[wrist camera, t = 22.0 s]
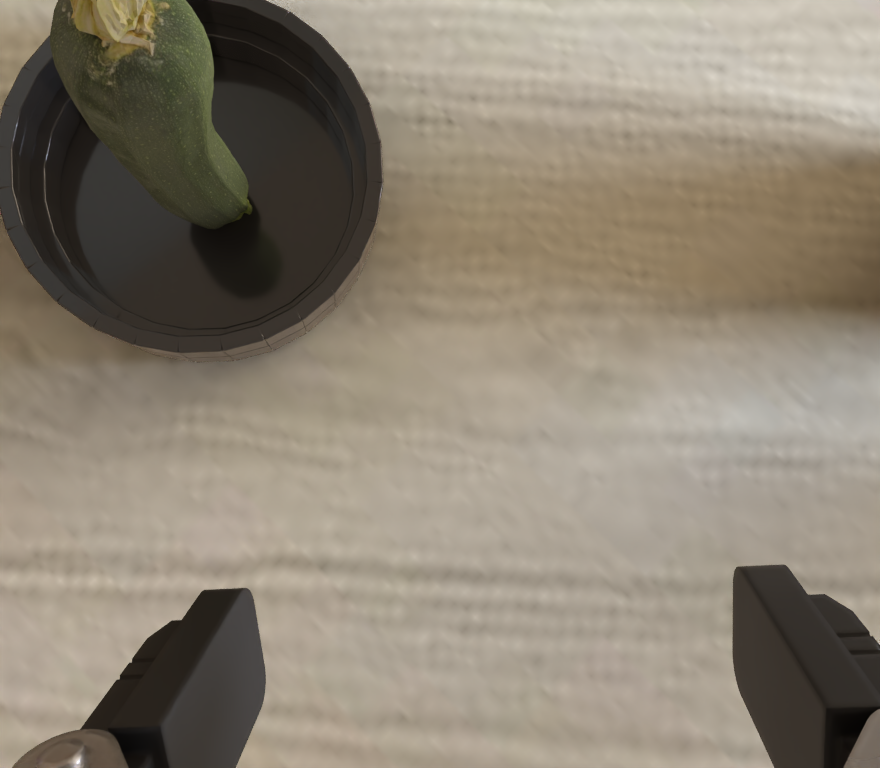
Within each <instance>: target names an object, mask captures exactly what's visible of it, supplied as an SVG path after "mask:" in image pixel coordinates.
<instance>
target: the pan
mask: <svg viewBox="0 0 880 768" xmlns="http://www.w3.org/2000/svg"><path fill="white" fill-rule="evenodd" d="M186 1H187V2H188V4H189V5H190V6H191V7H192V9H193V11H194V12H195V14H196V15H197V17H198V19H199V20H200V22H201V23H202V25H203V27H204V29H205V32H206V34H207V37H208V39H209V42H210V46H211V51H212V56H213V64H214V78H213V83H214V89H213V97H212V101H211V117H212V124H213V126H214V129H215V131H216V132H217V134H218V135H219V136H220V138H221V139H222V140H223V142H224V143H225V145H226V146H227V148H228V149H229V151H230V152H231V154H232V156H233V157H234V158H235V160H236V161H237V163H238V164H239V166H240V167H241V169H242V171H243V172H244V174H245V176H246V178H247V181H248V185H249V189H248V196H247V199H248V200H249V203H250V204H251V206H252V213H251V214H250V215H249V214H247V213H244V214H243V216H242V217H241V218H240V219H239V220H236V221H233V222H231V223H228V224H225V225H224V226H222V227H220V228H218V229H207V228H204V227H202V226H199V225H196V224H194V223H191V222H189V221H186V220H184V219H182V218H180V217H178V216H176V215H174V214H172V213H171V212H169V211H167V210H166V209H164V208H163V207H162V206H161V205H159V204H158V203H157V202H156V201H155V200H154V199H153V197H152V196H151V195H150V194H149V193H148V192H147V191H146V189H145V188H144V187H143V186H142V185H141V184H140V183H139V182H138V181H137V180H136V179H135V178H134V176H133V175H132V174H131V173H130V172H129V171H128V170H127V169H126V168H125V167H124V166H123V165H122V164H121V163H119V161H118V160H117V159H116V157H115V156H114V155H113V153H112V152H111V150H110V149H109V148H108V147H107V146H106V145H105V144H104V143H103V142H102V141H101V140H100V139H99V138H98V137H97V136H96V134H95V133H94V132H93V131H92V130H91V129H90V127H89V126H88V124H87V122H86V121H85V119H84V118H83V116H82V115H81V113H80V112H79V110H78V109H77V107H76V106H75V104H74V102H73V100H72V99H71V97H70V95H69V94H68V92H67V90H66V88H65V86H64V84H63V82H62V80H61V78H60V76H59V73H58V71H57V69H56V67H55V64H54V60H53V56H52V52H51V47H50V36H48V38H47V39H46V40H45V41H44V42H43V44H42V45H41V46H40V47H39V48H38V49H37V51H36V52H35V53H34V54H33V55H32V57H31V58H30V59H29V60H28V61H27V62H26V64H25V65H24V67H22V69H21V71H20V73H19V75H18V77H17V79H16V81H15V83H14V85H13V87H12V89H11V91H10V93H9V95H8V96H7V98H6V100H5V102H4V105H3V108H2V113H1V117H0V210H1V213H2V217H3V221H4V225H5V229H6V230H7V234H8V235H9V237H10V239H11V241H12V243H13V245H14V247H15V248H16V250H17V252H18V254H19V256H20V258H21V259H22V261H23V263H24V265H25V267H26V268H27V269H28V271H29V272H30V273H31V275H32V276H33V277H34V278H35V279H36V280H37V281H38V282H39V284H40V285H41V286H42V287H43V288H44V289H45V290H46V291H47V292H48V294H49V295H50V296H51V297H52V298H53V299H54V300H55V301H56V302H57V303H58V304H59V305H61V306H62V307H64V308H65V309H66V310H68V311H69V312H71V313H72V314H73V315H75V316H76V317H78V318H79V319H81V320H82V321H83V322H85V323H86V324H88V325H89V326H90V327H92V328H94V329H96V330H98V331H100V332H102V333H105V334H107V335H109V336H111V337H113V338H116V339H118V340H120V341H122V342H125V343H127V344H130V345H132V346H134V347H137V348H139V349H142V350H144V351H146V352H149V353H151V354H154V355H157V356H161V357H167V358H173V359H178V360H184V361H190V362H221V361H234V360H240V359H244V358H248V357H252V356H255V355H259V354H263V353H267V352H270V351H272V350H276V349H278V348H279V347H281V346H283V345H285V344H287V343H289V342H291V341H293V340H295V339H297V338H299V337H301V336H302V335H304V334H306V333H307V332H309V331H310V330H311V329H312V328H314V327H315V326H316V325H317V324H318V323H319V322H321V321H322V320H323V319H324V318H325V317H327V316H328V315H329V314H330V313H331V312H332V311H334V310H335V308H337V307H338V305H339V304H340V303H341V301H342V300H343V299H344V297H345V296H346V295H347V293H348V292H349V290H350V289H351V288H352V286H353V285H354V284H355V282H356V281H357V280H358V277H359V276H360V274H361V271H362V269H363V267H364V264H365V262H366V260H367V257H368V255H369V253H370V251H371V248H372V245H373V242H374V236H375V231H376V225H377V220H378V214H379V209H380V202H381V195H382V189H383V165H382V146H381V140H380V136H379V133H378V129H377V126H376V122H375V119H374V115H373V112H372V108H371V105H370V103H369V101H368V99H367V97H366V95H365V93H364V91H363V90H362V88H361V86H360V84H359V82H358V80H357V79H356V77H355V75H354V73H353V71H352V69H351V68H350V67H349V65H348V64H347V63H346V62H345V61H344V60H343V59H342V57H341V56H340V55H339V54H338V53H337V52H336V51H335V49H334V48H333V47H332V46H331V45H330V44H329V43H328V41H327V40H326V39H325V38H324V37H323V36H322V35H321V34H319V33H318V32H317V31H315V30H314V29H313V28H311V27H310V26H309V25H307V24H306V23H305V22H303V21H302V20H301V19H299V18H298V17H297V16H295V15H294V14H293V13H291V12H289V11H288V10H285V9H283V8H281V7H279V6H277V5H275V4H272V3H270V2H268V1H266V0H186Z"/></svg>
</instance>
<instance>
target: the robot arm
mask: <svg viewBox="0 0 880 768" xmlns="http://www.w3.org/2000/svg"><path fill="white" fill-rule="evenodd" d="M733 664H734V671H735V676H736V681H737V685H738V688H739V691H740V694H741V696H742V698H743V700H744V703H745V705H746V707H747V709H748V711H749V713H750V716H751V718H752V720H753V722H754V724H755V726H756V729H757V731H758V733H759V735H760V737H761V739H762V742H763V744H764V746H765V748H766V750H767V752H768V755H769V757H770V759H771V761H772V763H773V765H774V768H880V645H879V644H878V642H877V641H876V640H875V639H874V637H873V636H870V634H869V631H868V630H867V629H866V627H865V626H864V625H863V624H862V622H861V621H860V620H859V619H858V617H857V616H856V615H855V614H854V612H853V611H851V610H850V609H848V608H846V607H845V606H843V605H842V604H840V603H838V602H837V601H835V600H833V599H832V598H830V597H829V596H827V595H825V594H819V595H808V594H807V593H806V592H805V590H804V589H803V587H802V586H801V585H800V583H799V582H798V580H797V579H796V578H795V576H794V575H793V574H792V572H791V571H790V569H789V568H788V567H787V566H786V565H764V566H742V567H736V569H735V571H734V577H733ZM265 683H266V675H265V665H264V659H263V653H262V647H261V641H260V635H259V629H258V623H257V617H256V611H255V605H254V599H253V596H252V594H251V592H250V590H249V589H247V588H237V589H215V590H204V591H202V592H201V593H200V595H199V596H198V597H197V599H196V600H195V602H194V603H193V605H192V606H191V608H190V609H189V610H188V612H187V613H186V615H185V616H184V618H183V619H182V620H176V621H171V622H169V623H168V624H167V625H165V626H164V627H162V628H161V629H160V630H158V631H157V632H156V633H154V634H153V635H151V636H150V637H149V638H147V640H146V641H145V642H144V644H143V645H142V646H141V648H140V649H139V650H138V652H137V653H136V654H135V656H134V657H133V659H132V663H129V664H128V665H127V667H126V668H125V669H124V671H123V672H122V673H121V675H120V680H116V682H115V683H114V684H113V686H112V687H111V688H110V690H109V691H108V692H107V694H106V695H105V696H104V698H103V699H102V701H101V702H100V703H99V705H98V706H97V707H96V709H95V710H94V711H93V713H92V714H91V715H90V717H89V718H88V720H87V721H86V722H85V724H84V725H83V726H82V728H81V729H80V730H75V731H71V732H67V733H64V734H61V735H58V736H55V737H53V738H51V739H49V740H47V741H45V742H43V743H41V744H39V745H37V746H36V747H34V748H33V749H31V750H30V751H28V752H27V753H26V754H25V755H24V756H22V757H21V758H20V759H19V760H18V761H17V762H16V763H15V764H14V766H13V767H12V768H236V765H237V763H238V761H239V758H240V756H241V754H242V751H243V749H244V747H245V744H246V742H247V740H248V738H249V735H250V733H251V731H252V728H253V726H254V724H255V721H256V719H257V717H258V714H259V712H260V710H261V707H262V704H263V700H264V694H265Z"/></svg>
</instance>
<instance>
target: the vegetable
mask: <svg viewBox="0 0 880 768" xmlns="http://www.w3.org/2000/svg"><path fill="white" fill-rule="evenodd" d="M50 47H51V52H52V56H53V60H54V64H55V67H56V69H57V71H58V73H59V76H60V78H61V80H62V82H63V84H64V86H65V88H66V90H67V92H68V94H69V95H70V97H71V99H72V100H73V102H74V104H75V106H76V107H77V109H78V110H79V112H80V113H81V115H82V116H83V118H84V119H85V121H86V122H87V124H88V126H89V127H90V129H91V130H92V131H93V132H94V133H95V134H96V136H97V137H98V138H99V139H100V140H101V141H102V142H103V143H104V144H105V145H106V146H107V147H108V148H109V149H110V150H111V152H112V153H113V155H114V156H115V157H116V159H117V160H118V161H119V163H121V164H122V165H123V166H124V167H125V168H126V169H127V170H128V171H129V172H130V173H131V174H132V175H133V176H134V178H135V179H136V180H137V181H138V182H139V183H140V184H141V185H142V186H143V187H144V188H145V189H146V191H147V192H148V193H149V194H150V195H151V196H152V197H153V199H154V200H155V201H156V202H157V203H158V204H159V205H161V206H162V207H163V208H164V209H166V210H167V211H169V212H171V213H172V214H174V215H176V216H178V217H180V218H182V219H184V220H186V221H189V222H191V223H194V224H196V225H199V226H202V227H204V228H207V229H218V228H220V227H222V226H224V225H225V224H228V223H231V222H233V221H236V220H239V219H240V218H241V217H242V216H243V214H244V213H247V214H249V215H250V214H251V213H252V206H251V204H250V203H249V200H248V199H247V196H248V189H249V185H248V181H247V178H246V176H245V174H244V172H243V171H242V169H241V167H240V166H239V164H238V163H237V161H236V160H235V158H234V157H233V156H232V154H231V152H230V151H229V149H228V148H227V146H226V145H225V143H224V142H223V140H222V139H221V138H220V136H219V135H218V134H217V132H216V131H215V129H214V126H213V124H212V117H211V101H212V97H213V89H214V83H213V78H214V64H213V56H212V51H211V46H210V42H209V39H208V37H207V34H206V32H205V29H204V27H203V25H202V23H201V22H200V20H199V19H198V17H197V15H196V14H195V12H194V11H193V9H192V7H191V6H190V5H189V4H188V2H187V1H186V0H58V2H57V5H56V7H55V10H54V15H53V21H52V27H51V33H50Z"/></svg>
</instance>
